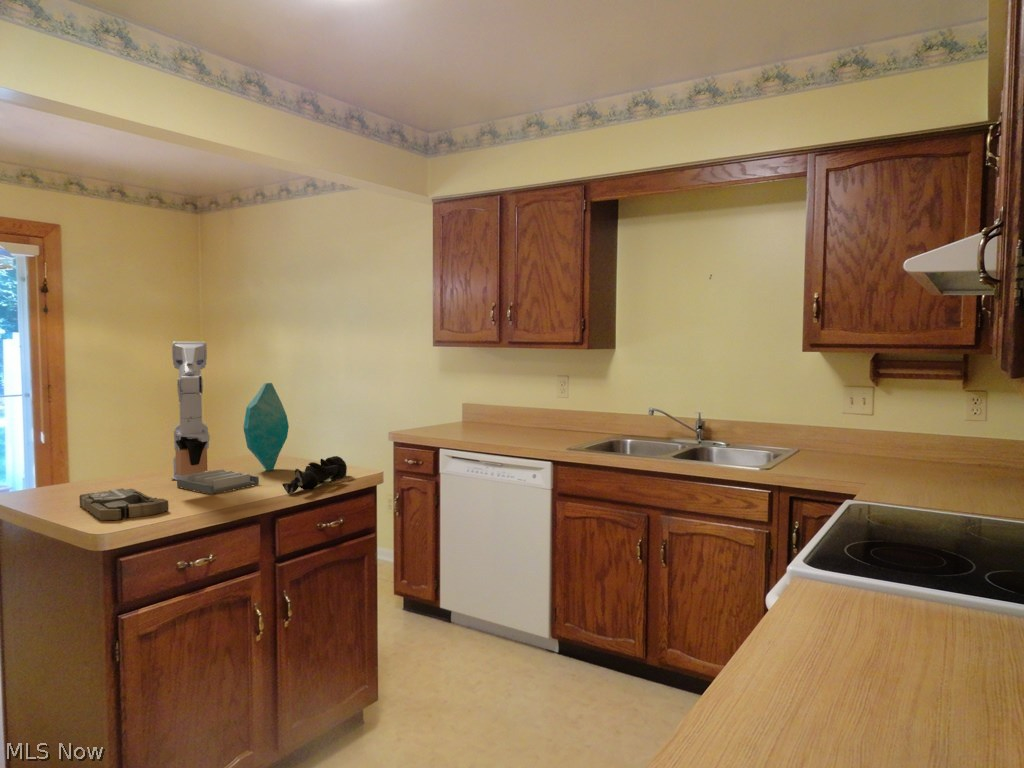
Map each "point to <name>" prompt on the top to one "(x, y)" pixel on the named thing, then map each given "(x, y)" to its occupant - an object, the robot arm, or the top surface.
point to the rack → (217, 481)
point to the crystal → (266, 426)
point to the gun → (122, 504)
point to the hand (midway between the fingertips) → (192, 464)
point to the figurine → (317, 474)
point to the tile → (184, 462)
